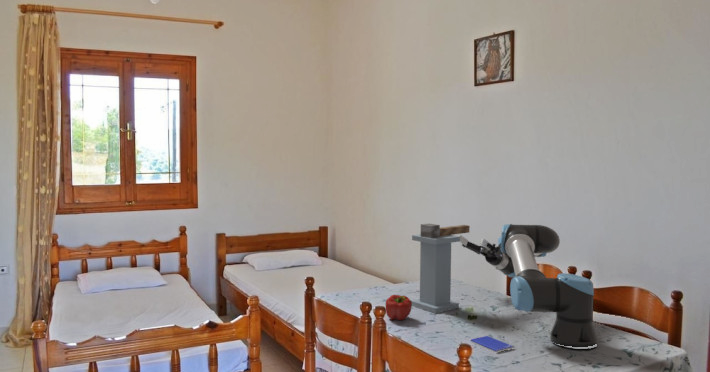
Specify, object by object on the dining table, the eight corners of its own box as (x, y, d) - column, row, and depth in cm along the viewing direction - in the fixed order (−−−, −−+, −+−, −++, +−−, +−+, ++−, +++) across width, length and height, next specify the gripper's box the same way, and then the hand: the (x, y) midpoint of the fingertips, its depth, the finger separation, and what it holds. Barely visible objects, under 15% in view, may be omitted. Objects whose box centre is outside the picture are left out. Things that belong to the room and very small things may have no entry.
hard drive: (514, 345, 191) (488, 335, 202) (496, 350, 187) (470, 339, 198) (514, 350, 191) (487, 339, 202) (496, 354, 187) (470, 343, 198)
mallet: (430, 238, 233) (431, 226, 233) (420, 236, 238) (420, 224, 238) (472, 232, 248) (472, 221, 248) (461, 231, 253) (461, 220, 253)
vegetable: (417, 321, 220) (417, 296, 220) (392, 324, 217) (393, 298, 216) (404, 314, 231) (404, 289, 230) (380, 316, 227) (381, 291, 226)
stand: (434, 313, 232) (436, 239, 230) (411, 305, 243) (412, 235, 241) (458, 307, 240) (460, 236, 238) (434, 300, 251) (435, 232, 249)
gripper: (516, 270, 254) (489, 251, 242) (472, 261, 273) (446, 242, 262) (521, 255, 255) (495, 234, 244) (478, 247, 275) (452, 228, 263)
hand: (469, 239), depth 253 cm, fingers open, 13 cm apart
